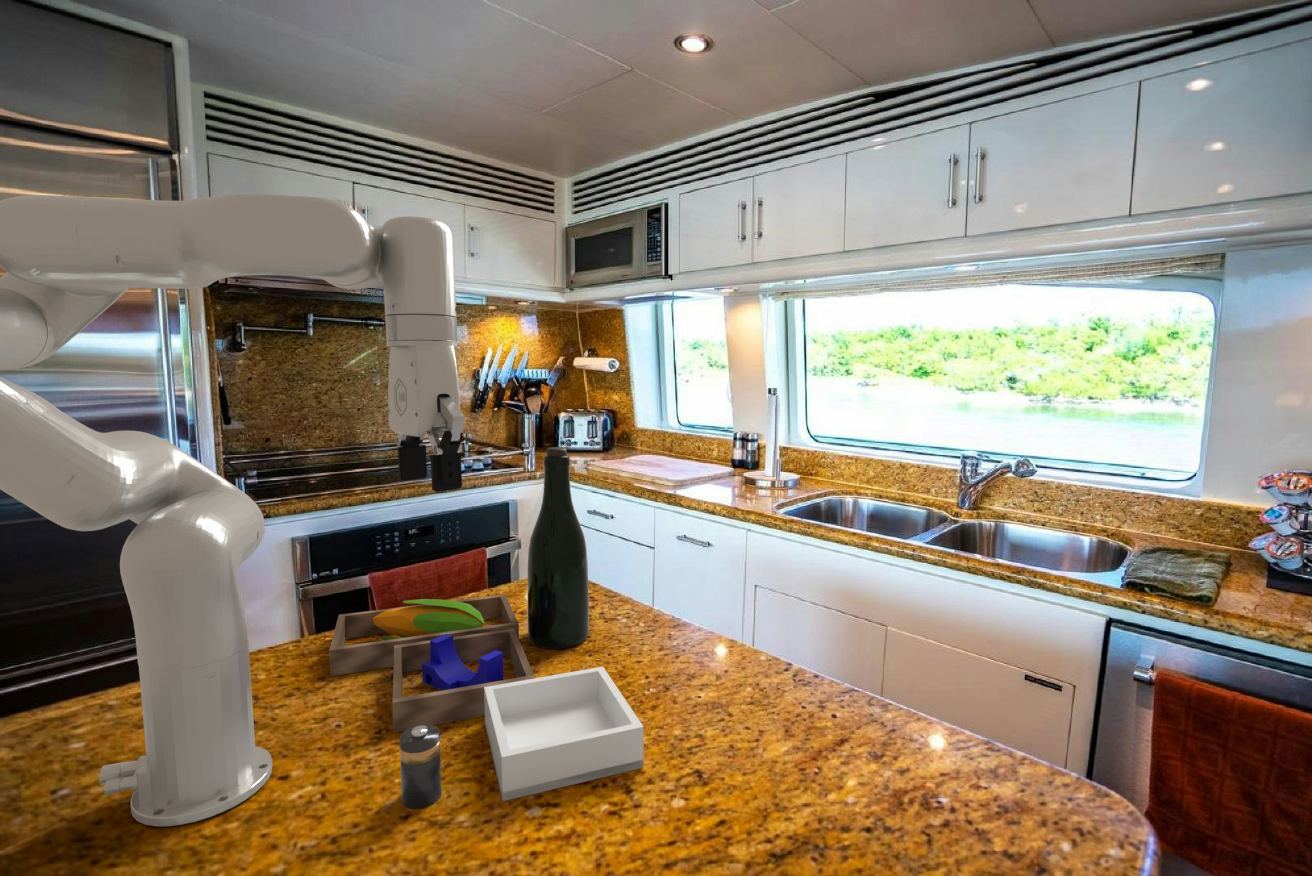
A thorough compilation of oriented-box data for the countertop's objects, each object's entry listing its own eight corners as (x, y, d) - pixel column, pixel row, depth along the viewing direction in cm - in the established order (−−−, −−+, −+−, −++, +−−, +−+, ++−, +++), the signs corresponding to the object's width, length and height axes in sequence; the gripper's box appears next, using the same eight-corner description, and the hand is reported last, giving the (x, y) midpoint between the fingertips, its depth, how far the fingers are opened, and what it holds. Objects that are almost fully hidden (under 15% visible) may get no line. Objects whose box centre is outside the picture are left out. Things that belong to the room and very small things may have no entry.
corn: (473, 610, 101) (357, 603, 104) (473, 657, 101) (357, 648, 104) (491, 596, 108) (383, 590, 111) (491, 640, 109) (383, 633, 111)
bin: (502, 801, 67) (501, 757, 67) (484, 723, 82) (484, 687, 82) (643, 767, 73) (643, 726, 73) (603, 701, 88) (603, 666, 88)
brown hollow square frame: (393, 733, 80) (392, 703, 80) (395, 670, 97) (394, 645, 96) (535, 706, 87) (535, 678, 86) (514, 652, 103) (514, 628, 103)
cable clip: (422, 683, 93) (421, 644, 93) (447, 671, 97) (446, 633, 96) (479, 706, 87) (478, 664, 86) (503, 692, 91) (502, 652, 90)
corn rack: (330, 676, 95) (329, 650, 94) (339, 637, 109) (338, 614, 108) (519, 647, 105) (518, 624, 105) (505, 615, 119) (505, 594, 118)
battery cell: (401, 813, 66) (398, 744, 65) (401, 789, 69) (398, 723, 69) (442, 803, 67) (440, 736, 66) (440, 780, 71) (438, 716, 70)
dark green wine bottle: (541, 623, 115) (538, 443, 112) (596, 628, 113) (595, 444, 110) (517, 647, 105) (514, 450, 101) (578, 653, 103) (576, 452, 99)
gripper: (362, 336, 75) (370, 478, 77) (418, 328, 62) (427, 500, 64) (425, 338, 80) (431, 471, 82) (489, 331, 67) (494, 490, 69)
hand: (429, 484), depth 73 cm, fingers open, 9 cm apart
